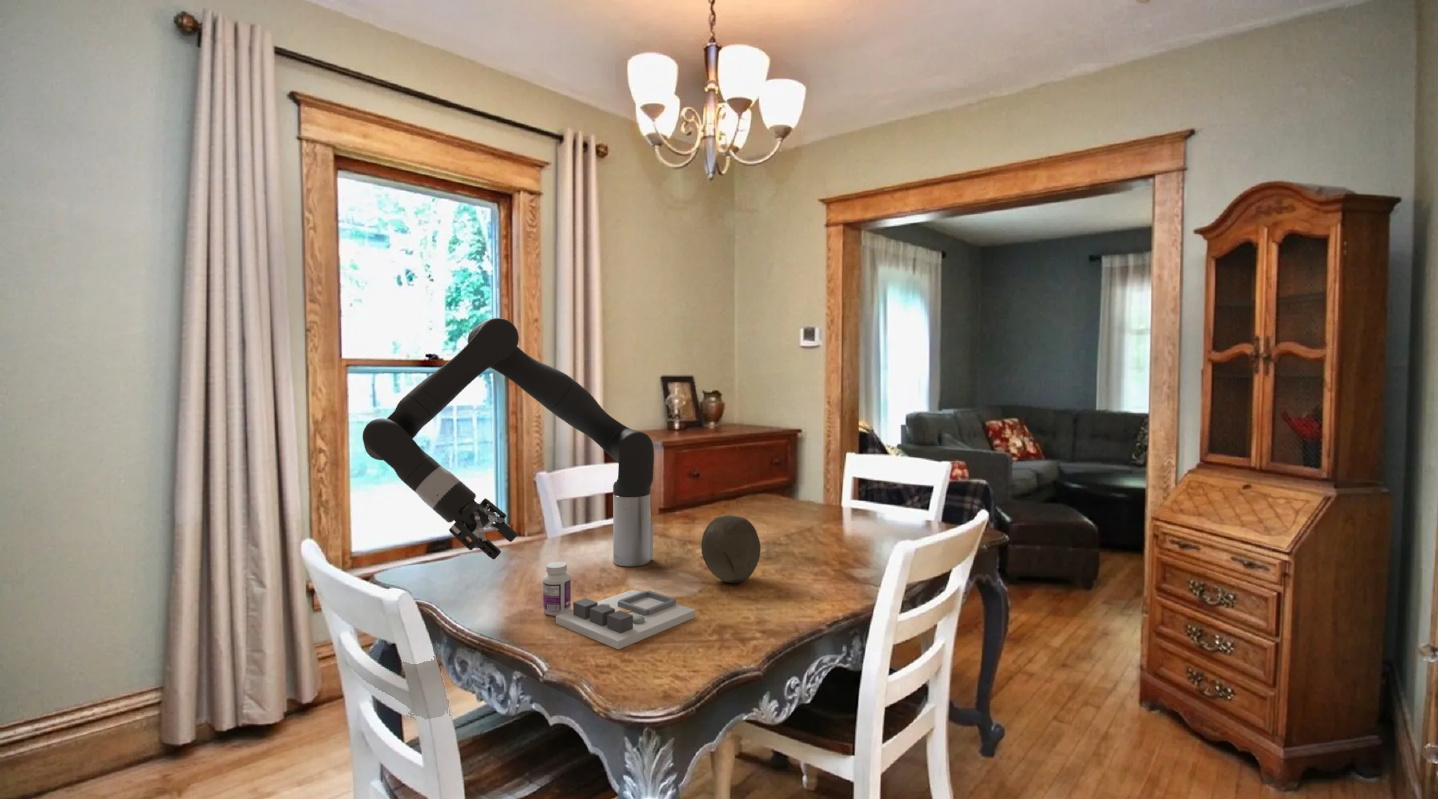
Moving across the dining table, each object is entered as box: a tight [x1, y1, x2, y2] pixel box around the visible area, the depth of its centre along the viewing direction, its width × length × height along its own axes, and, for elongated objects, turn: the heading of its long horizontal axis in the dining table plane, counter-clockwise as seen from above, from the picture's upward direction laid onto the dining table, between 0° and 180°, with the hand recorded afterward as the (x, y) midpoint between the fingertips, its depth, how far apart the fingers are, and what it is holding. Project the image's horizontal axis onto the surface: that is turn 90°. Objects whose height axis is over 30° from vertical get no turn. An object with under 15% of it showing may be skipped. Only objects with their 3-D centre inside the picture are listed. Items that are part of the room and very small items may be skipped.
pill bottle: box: [542, 561, 572, 617], centre depth 136 cm, size 5×5×10 cm
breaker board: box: [555, 589, 696, 650], centre depth 132 cm, size 20×18×4 cm
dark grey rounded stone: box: [700, 515, 761, 584], centre depth 156 cm, size 14×14×15 cm
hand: (506, 547), depth 138 cm, fingers open, 8 cm apart
